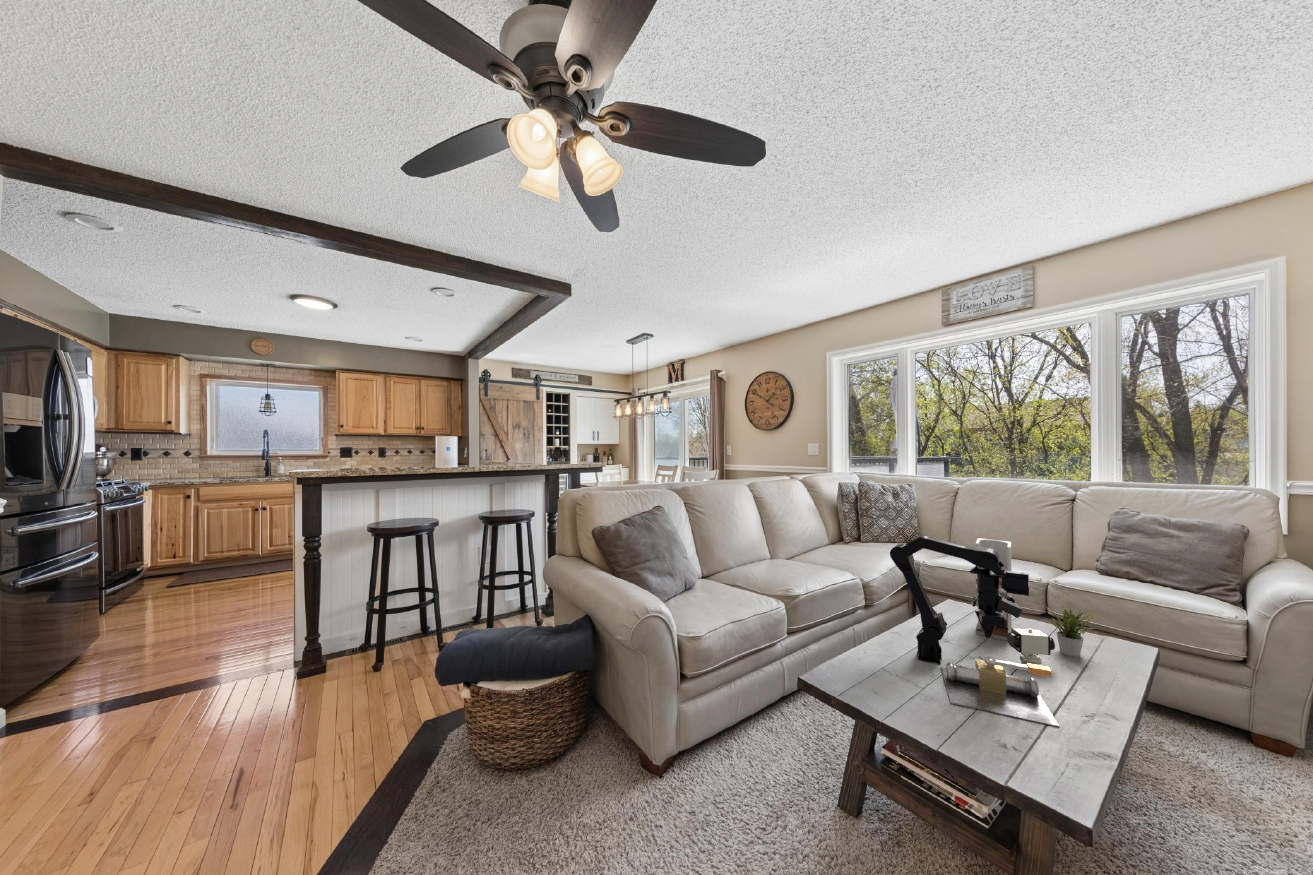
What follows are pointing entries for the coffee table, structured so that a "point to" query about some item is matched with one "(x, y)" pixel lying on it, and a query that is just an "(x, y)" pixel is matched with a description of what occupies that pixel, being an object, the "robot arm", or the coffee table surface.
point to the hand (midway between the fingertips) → (987, 637)
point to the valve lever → (1021, 666)
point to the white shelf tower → (1005, 557)
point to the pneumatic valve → (1030, 644)
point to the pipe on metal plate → (996, 692)
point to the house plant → (1070, 632)
